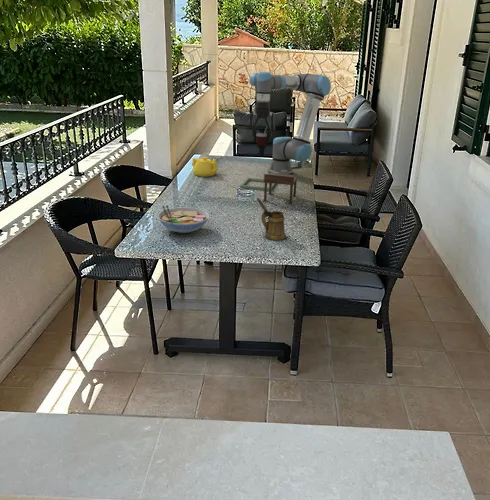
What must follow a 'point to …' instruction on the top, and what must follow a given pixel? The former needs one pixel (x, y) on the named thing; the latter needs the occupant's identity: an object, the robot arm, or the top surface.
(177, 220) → the ramen bowl
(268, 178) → the stand
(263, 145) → the mate gourd
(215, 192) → the top surface
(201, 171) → the teapot
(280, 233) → the wooden mug
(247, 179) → the bottom bay
